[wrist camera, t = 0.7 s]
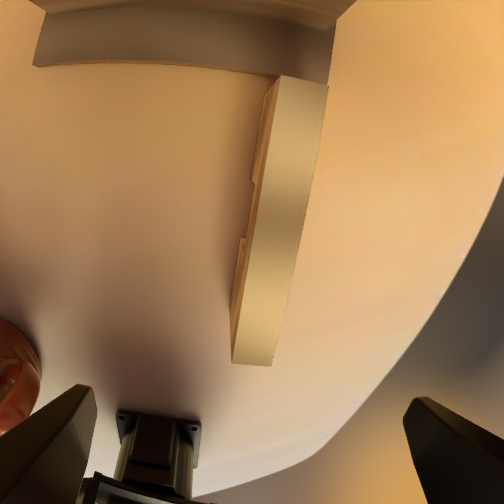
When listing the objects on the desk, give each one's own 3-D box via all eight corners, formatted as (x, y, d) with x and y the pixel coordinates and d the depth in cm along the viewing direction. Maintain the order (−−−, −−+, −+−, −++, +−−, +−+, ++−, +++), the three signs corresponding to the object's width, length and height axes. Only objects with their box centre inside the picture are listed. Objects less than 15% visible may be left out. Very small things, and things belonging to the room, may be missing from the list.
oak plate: (259, 313, 19) (271, 366, 14) (229, 310, 19) (231, 363, 14) (299, 101, 15) (328, 86, 11) (264, 94, 15) (281, 75, 10)
